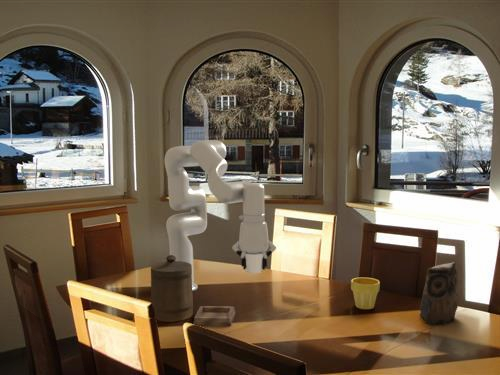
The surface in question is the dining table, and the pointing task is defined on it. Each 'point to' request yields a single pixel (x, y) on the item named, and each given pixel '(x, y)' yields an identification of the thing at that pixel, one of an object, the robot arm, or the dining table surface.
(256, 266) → the white cup
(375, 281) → the plant pot
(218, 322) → the square wooden tray
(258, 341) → the dining table surface
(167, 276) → the wooden container
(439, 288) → the owl
